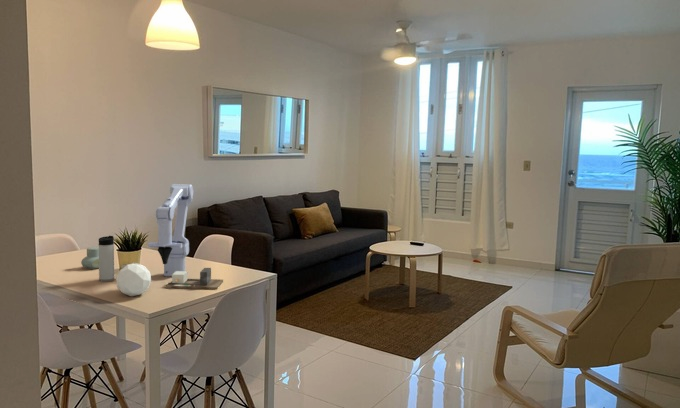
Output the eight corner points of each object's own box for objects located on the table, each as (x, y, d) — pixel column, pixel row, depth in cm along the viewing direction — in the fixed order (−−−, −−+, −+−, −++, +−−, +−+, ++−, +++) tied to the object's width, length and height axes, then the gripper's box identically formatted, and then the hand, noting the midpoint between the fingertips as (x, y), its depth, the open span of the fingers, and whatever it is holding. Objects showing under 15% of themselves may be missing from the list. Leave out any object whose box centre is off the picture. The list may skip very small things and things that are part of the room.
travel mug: (118, 279, 233) (117, 236, 231) (107, 282, 227) (106, 238, 225) (107, 277, 235) (106, 235, 233) (96, 281, 229) (95, 237, 227)
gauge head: (170, 285, 222) (170, 276, 221) (176, 279, 231) (176, 271, 230) (181, 285, 222) (181, 276, 222) (187, 280, 231) (187, 271, 230)
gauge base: (166, 288, 221) (166, 272, 221) (175, 280, 234) (175, 265, 234) (216, 289, 222) (217, 273, 221) (223, 281, 235) (223, 266, 234)
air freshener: (88, 271, 246) (88, 250, 245) (78, 268, 250) (77, 248, 249) (108, 266, 255) (108, 247, 254) (98, 264, 259) (98, 245, 258)
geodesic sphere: (105, 287, 200) (128, 259, 202) (106, 278, 212) (127, 252, 214) (137, 306, 205) (159, 278, 207) (136, 296, 218) (156, 270, 220)
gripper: (145, 234, 221) (145, 265, 223) (178, 235, 221) (178, 266, 223) (150, 231, 228) (151, 261, 230) (183, 232, 228) (183, 262, 230)
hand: (165, 263), depth 227 cm, fingers closed
